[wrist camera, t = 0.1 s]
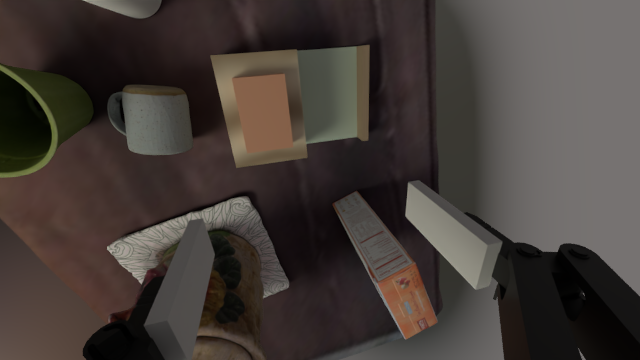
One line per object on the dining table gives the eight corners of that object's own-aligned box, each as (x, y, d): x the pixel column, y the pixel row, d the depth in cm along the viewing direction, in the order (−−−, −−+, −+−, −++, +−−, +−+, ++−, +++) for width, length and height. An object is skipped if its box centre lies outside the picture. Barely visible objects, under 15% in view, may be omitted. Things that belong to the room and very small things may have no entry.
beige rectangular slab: (218, 56, 35) (210, 55, 29) (290, 51, 37) (296, 49, 31) (239, 151, 41) (236, 167, 35) (300, 143, 43) (307, 157, 37)
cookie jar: (292, 282, 56) (328, 508, 28) (182, 324, 54) (100, 614, 26) (248, 188, 44) (231, 411, 16) (107, 238, 43) (-190, 586, 14)
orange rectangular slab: (233, 77, 30) (231, 78, 29) (283, 73, 32) (284, 73, 30) (247, 148, 34) (247, 153, 33) (291, 142, 35) (293, 147, 34)
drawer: (290, 51, 37) (292, 50, 34) (361, 46, 39) (369, 45, 36) (300, 143, 43) (303, 149, 40) (361, 135, 45) (368, 140, 42)
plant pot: (49, 31, 30) (-51, 16, 21) (134, 114, 36) (87, 134, 26) (-25, 88, 31) (-158, 100, 21) (69, 161, 37) (-1, 198, 27)
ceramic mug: (192, 85, 36) (176, 91, 29) (199, 141, 39) (185, 158, 33) (106, 79, 34) (66, 84, 27) (120, 139, 37) (88, 157, 30)
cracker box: (379, 236, 56) (440, 324, 37) (355, 249, 56) (404, 343, 37) (358, 187, 49) (419, 263, 31) (330, 202, 49) (375, 286, 31)
